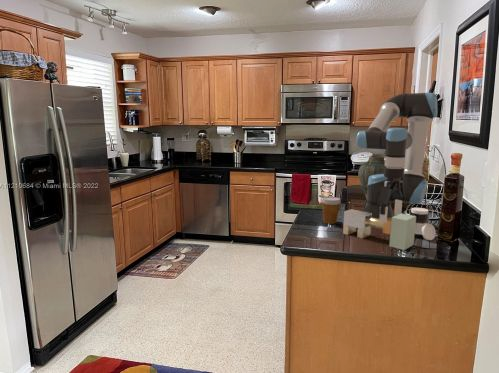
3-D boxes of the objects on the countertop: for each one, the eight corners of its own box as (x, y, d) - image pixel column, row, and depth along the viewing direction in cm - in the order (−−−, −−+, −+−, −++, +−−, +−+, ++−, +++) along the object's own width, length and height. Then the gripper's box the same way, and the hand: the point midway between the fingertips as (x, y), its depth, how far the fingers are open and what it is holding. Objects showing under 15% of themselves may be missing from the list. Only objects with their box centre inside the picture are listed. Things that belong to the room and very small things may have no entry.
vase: (390, 200, 230) (394, 152, 224) (399, 208, 208) (403, 156, 203) (354, 198, 233) (357, 152, 227) (359, 206, 211) (362, 155, 206)
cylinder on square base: (359, 224, 161) (360, 211, 160) (404, 234, 147) (405, 220, 146) (354, 226, 158) (355, 213, 157) (399, 236, 144) (400, 223, 143)
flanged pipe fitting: (411, 230, 166) (413, 206, 164) (438, 235, 159) (441, 210, 157) (403, 237, 157) (405, 211, 155) (431, 242, 150) (434, 215, 148)
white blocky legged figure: (350, 230, 166) (351, 209, 164) (370, 235, 159) (372, 213, 157) (342, 233, 161) (343, 211, 159) (363, 238, 154) (364, 216, 152)
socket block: (398, 241, 151) (401, 213, 149) (413, 244, 147) (416, 216, 145) (389, 246, 145) (391, 217, 143) (404, 250, 141) (406, 220, 139)
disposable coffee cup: (340, 220, 182) (341, 197, 180) (339, 225, 173) (340, 201, 171) (320, 218, 185) (321, 195, 183) (319, 223, 176) (320, 199, 174)
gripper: (398, 163, 156) (394, 210, 160) (370, 169, 138) (367, 223, 143) (416, 164, 150) (412, 214, 155) (389, 172, 133) (385, 227, 138)
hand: (390, 218), depth 149 cm, fingers open, 13 cm apart
